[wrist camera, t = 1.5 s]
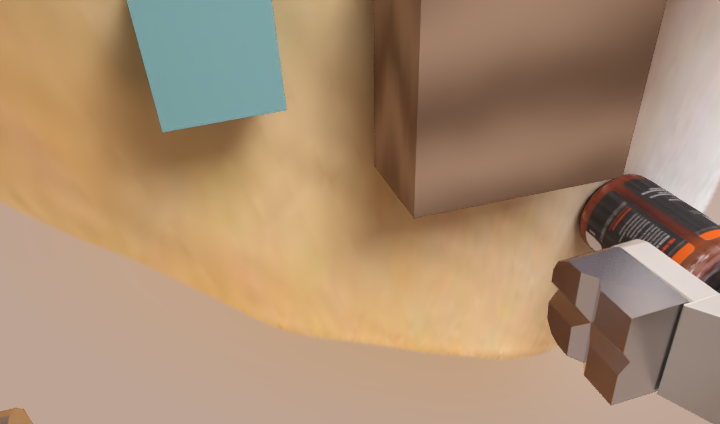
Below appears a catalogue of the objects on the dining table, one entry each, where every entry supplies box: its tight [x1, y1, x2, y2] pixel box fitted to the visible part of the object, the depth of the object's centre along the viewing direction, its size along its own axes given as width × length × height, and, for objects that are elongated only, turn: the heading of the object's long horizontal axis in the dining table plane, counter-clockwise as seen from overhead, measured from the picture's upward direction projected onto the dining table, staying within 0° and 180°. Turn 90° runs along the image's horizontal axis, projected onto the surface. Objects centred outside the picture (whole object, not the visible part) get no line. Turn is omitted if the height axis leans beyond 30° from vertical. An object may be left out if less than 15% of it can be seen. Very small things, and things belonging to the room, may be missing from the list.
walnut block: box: [373, 0, 667, 218], centre depth 28 cm, size 12×12×6 cm
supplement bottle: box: [580, 174, 720, 294], centre depth 36 cm, size 6×6×11 cm
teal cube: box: [127, 0, 287, 133], centre depth 24 cm, size 5×5×5 cm
